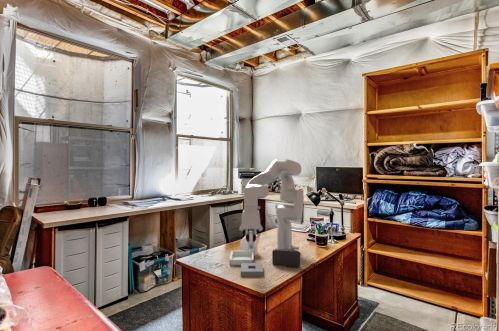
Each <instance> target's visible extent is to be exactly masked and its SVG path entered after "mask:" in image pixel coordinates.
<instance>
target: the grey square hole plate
mask: <svg viewBox="0 0 499 331" xmlns="http://www.w3.org/2000/svg"><path fill="white" fill-rule="evenodd" d="M263 265H264V264H263V262H254V263H241V265H240V277H264V267H263Z"/></svg>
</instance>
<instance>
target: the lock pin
mask: <svg viewBox="0 0 499 331" xmlns="http://www.w3.org/2000/svg"><path fill="white" fill-rule="evenodd" d="M248 248H250V249H252V248H254V230H248Z"/></svg>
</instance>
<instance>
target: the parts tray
mask: <svg viewBox="0 0 499 331" xmlns="http://www.w3.org/2000/svg"><path fill="white" fill-rule="evenodd" d="M254 258H255V257H254V255H253V251H240V250H231V252H230V255H229V266H241V263H255V262H254Z"/></svg>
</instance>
